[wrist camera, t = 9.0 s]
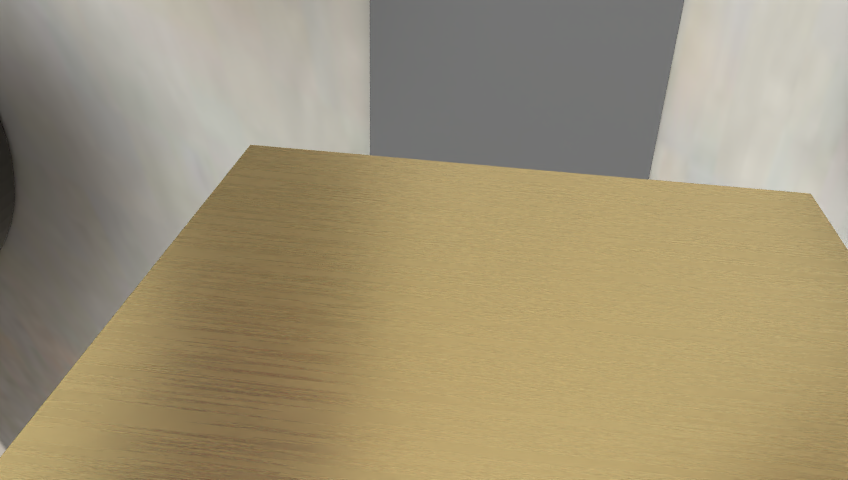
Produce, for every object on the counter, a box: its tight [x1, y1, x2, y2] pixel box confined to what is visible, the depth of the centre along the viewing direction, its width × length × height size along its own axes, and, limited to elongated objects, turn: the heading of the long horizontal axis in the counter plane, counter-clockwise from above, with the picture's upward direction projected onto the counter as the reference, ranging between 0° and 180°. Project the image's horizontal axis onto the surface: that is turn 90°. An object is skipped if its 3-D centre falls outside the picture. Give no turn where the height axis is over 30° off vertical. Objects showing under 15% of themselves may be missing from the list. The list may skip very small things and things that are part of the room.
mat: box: [370, 0, 684, 179], centre depth 24 cm, size 9×9×1 cm
